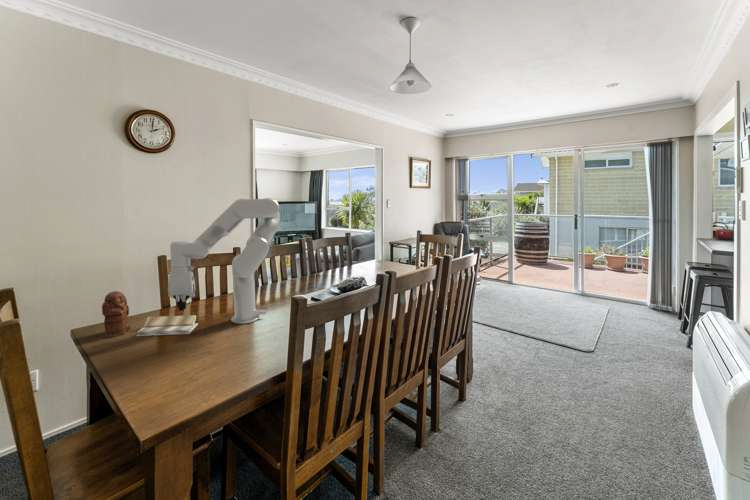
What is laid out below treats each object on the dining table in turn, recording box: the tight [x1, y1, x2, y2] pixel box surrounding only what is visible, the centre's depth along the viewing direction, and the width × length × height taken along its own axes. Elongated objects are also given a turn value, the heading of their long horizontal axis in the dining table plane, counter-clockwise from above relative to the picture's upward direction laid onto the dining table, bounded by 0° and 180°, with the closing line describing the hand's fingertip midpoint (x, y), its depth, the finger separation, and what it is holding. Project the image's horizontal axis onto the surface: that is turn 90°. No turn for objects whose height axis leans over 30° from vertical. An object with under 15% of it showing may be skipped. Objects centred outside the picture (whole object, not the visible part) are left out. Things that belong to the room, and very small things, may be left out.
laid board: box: [136, 325, 193, 336], centre depth 155 cm, size 20×6×1 cm, turn 99°
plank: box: [143, 314, 197, 327], centre depth 161 cm, size 20×6×1 cm
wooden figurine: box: [101, 290, 131, 338], centre depth 154 cm, size 12×6×18 cm, turn 11°
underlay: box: [135, 322, 199, 337], centre depth 158 cm, size 21×12×1 cm, turn 99°
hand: (182, 309), depth 161 cm, fingers closed
